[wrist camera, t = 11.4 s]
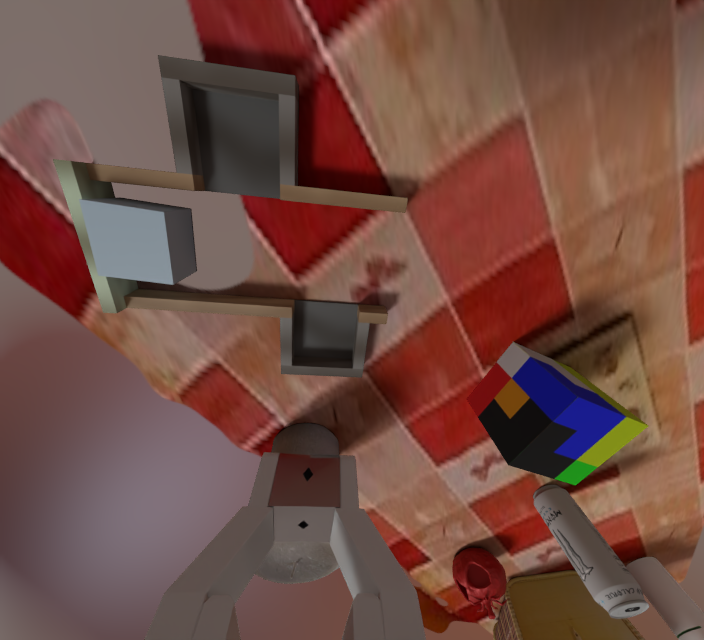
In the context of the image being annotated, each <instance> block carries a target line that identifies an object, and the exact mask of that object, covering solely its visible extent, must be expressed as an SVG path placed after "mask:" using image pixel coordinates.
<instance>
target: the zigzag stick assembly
mask: <svg viewBox="0 0 704 640" xmlns="http://www.w3.org/2000/svg"><path fill="white" fill-rule="evenodd" d="M158 59H159V65H160V72H161V77H162V84H163V90H164V96H165V103H166V108H167V115H168V122H169V128H170V134H171V140H172V146H173V153H174V159H175V165H176V171H177V173H174V172H165V171H155V170H146V169H137V168H128V167H119V166H110V165H101V164H92V163H83V162H74V161H64V160H55V159H53V161H54V164H55V167H56V170H57V173H58V176H59V180H60V183H61V186H62V189H63V192H64V195H65V198H66V201H67V204H68V207H69V210H70V213H71V216H72V219H73V222H74V225H75V228H76V231H77V234H78V237H79V240H80V243H81V246H82V249H83V252H84V255H85V258H86V261H87V264H88V267H89V271H90V274H91V277H92V280H93V283H94V286H95V289H96V292H97V295H98V298H99V301H100V304H101V307H102V310H103V312H105V313H118V312H120V311H122V310H124V309H125V308H138V309H154V310H170V311H186V312H201V313H217V314H233V315H249V316H264V317H280V341H281V374H295V375H318V376H340V377H362V374H363V366H364V359H365V352H366V345H367V338H368V331H369V324H370V323H375V324H386V322H387V316H388V313H387V311H386V308H385V306H377V305H363V304H349V303H334V302H320V301H306V300H291V299H277V298H263V297H249V296H234V295H220V294H206V293H191V292H177V291H163V290H148V289H138V285H137V281H136V280H130V279H122V278H114V277H106V276H98V273H97V269H96V265H95V261H94V257H93V253H92V249H91V245H90V241H89V237H88V233H87V229H86V225H85V221H84V217H83V213H82V210H81V206H80V202H79V199H98V198H115V196H114V192H113V188H112V184H111V182H115V183H125V184H134V185H144V186H153V187H162V188H172V189H182V190H191V191H212V192H221V193H232V194H240V195H250V196H259V197H269V198H278V199H280V200H287V201H297V202H306V203H316V204H325V205H335V206H345V207H354V208H364V209H373V210H383V211H393V212H402V213H405V212H406V206H407V200H408V198H401V197H392V196H383V195H374V194H365V193H356V192H347V191H338V190H329V189H319V188H310V187H301V186H298V118H299V85H298V82H297V79H296V76H295V75H288V74H282V73H275V72H268V71H261V70H255V69H248V68H241V67H234V66H228V65H221V64H214V63H207V62H201V61H194V60H187V59H180V58H173V57H167V56H160V55H158Z"/></svg>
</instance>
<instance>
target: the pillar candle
mask: <svg viewBox="0 0 704 640" xmlns="http://www.w3.org/2000/svg"><path fill="white" fill-rule="evenodd" d="M271 453H287V454H305V455H310V454H322V455H339V444H338V440H337V438H336V437H335V436H334V434H333V433H331V432H330V431H329V430H328V429H327V428H325V427H323V426H321V425H318V424H311V423H301V424H296V425H292V426H289V427H288V428H285V429H284V430H283V431H281V432H280V433H279V434H278V435H277V436H276V437H275V439H274V441H273V447H272V451H271ZM338 568H339V564H338V562H337V560H336V557H335V555H334V553H333V551H332V548H331V546H330V542H306V541H296V542H274V545H273V546H272V548H271V549H270V551H269V552H268V554H267V555H266V557H265V559H264V560H263V562H262V563H261V565H260V566H259V568H258V569H257V571H256V572H255V574H256V575H258V576H260V577H262V578H263V579H265V580H269V581H273V582H277V583H285V584H288V583H289V584H293V583H304V582H310V581H314V580H317V579H320V578H322V577H324V576H327V575H328V574H330V573H331V572H333V571H334V570H336V569H338Z"/></svg>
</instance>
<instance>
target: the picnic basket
mask: <svg viewBox="0 0 704 640" xmlns="http://www.w3.org/2000/svg"><path fill="white" fill-rule="evenodd" d="M507 599H508V600H507ZM506 600H507V601H506ZM504 601H506V603H505V604H504V605H503V606H502V610H501V613H500V616H499V620H498V622H497V623H496V624H495V626H494V629H493V637H494V640H645V639H644V638H643V637H642V635H641V634H640V633H639V632H638V631H637V629H636V628H635V627H634V626H633V625H632V623H631V622H630V621H629V620H628V619H627V618H622V619H615V618H612V617H611V616H610V615H609V613H608V612H607V611H606V610H605V609H604V608H603V607H602V606H600V605H599V604H598V603H597V602H596V601H595V600H594V598H593V597H592V595H591V594H590V592H589V591H588V589H587V587H586V586H585V584H584V583H583V581H582V580H581V578H580V576H579V575H578V573H577V572H576V571H574V570H567V571H559V572H552V573H545V574H537V575H530V576H522V577H516V578H513V579H511V580H510V581H509V582H508V583H507V584H506V592H505V599H504Z"/></svg>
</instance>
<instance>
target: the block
mask: <svg viewBox="0 0 704 640" xmlns="http://www.w3.org/2000/svg"><path fill="white" fill-rule="evenodd" d="M79 202H80V206H81V210H82V213H83V217H84V221H85V225H86V229H87V233H88V237H89V241H90V245H91V249H92V253H93V257H94V261H95V265H96V269H97V273H98V276H106V277H114V278H122V279H130V280H138V281H147V282H155V283H163V284H171V285H174V284H176V283H177V282H179V281H181V280H182V279H184V278H186V277H188V276H189V275H191V274H193V273H194V272H196V271H197V266H196V265H197V264H196V253H195V242H194V231H193V221H192V209H190V208H184V207H177V206H171V205H165V204H158V203H152V202H146V201H139V200H133V199H127V198H98V199H79Z"/></svg>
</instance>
